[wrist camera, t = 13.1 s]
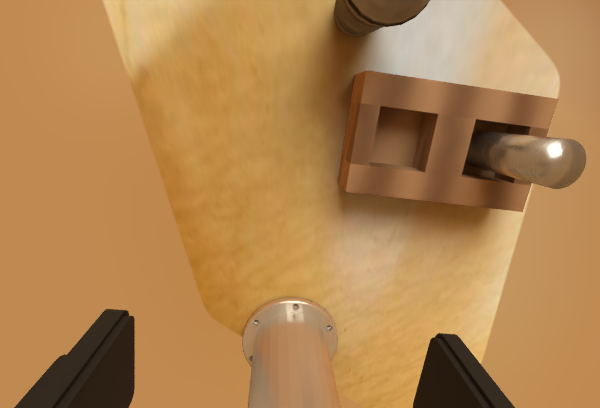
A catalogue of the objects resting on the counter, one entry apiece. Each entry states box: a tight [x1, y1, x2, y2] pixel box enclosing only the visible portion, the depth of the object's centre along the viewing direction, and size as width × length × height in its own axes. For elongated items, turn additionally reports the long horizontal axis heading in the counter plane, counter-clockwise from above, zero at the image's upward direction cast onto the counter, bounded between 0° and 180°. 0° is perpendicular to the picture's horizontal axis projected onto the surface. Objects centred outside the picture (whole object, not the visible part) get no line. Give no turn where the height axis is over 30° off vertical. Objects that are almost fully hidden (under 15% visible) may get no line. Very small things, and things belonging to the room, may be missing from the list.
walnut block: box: [338, 71, 558, 212], centre depth 37 cm, size 20×12×5 cm, turn 83°
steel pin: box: [465, 131, 586, 189], centre depth 33 cm, size 4×4×12 cm
